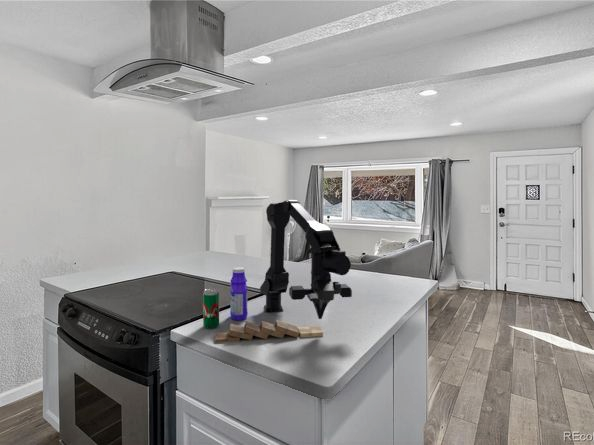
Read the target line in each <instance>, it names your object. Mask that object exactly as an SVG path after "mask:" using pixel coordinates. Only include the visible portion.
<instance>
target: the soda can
mask: <svg viewBox="0 0 594 445" xmlns="http://www.w3.org/2000/svg"><path fill="white" fill-rule="evenodd" d="M202 317H203V318H202V319H203V320H202V325H203V327H204V329H209V330H212V329H216V328H218V327H219V326H220V292H219V290H218V289H217V288H205V289H204V291H203V293H202Z"/></svg>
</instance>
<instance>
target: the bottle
mask: <svg viewBox="0 0 594 445" xmlns="http://www.w3.org/2000/svg"><path fill="white" fill-rule="evenodd" d="M245 271H246V270H245V268H244V267H242V266H240V267H239V266H238V267H233V268H232V277H231V279H230V288H229V291H230V296H229V298H230V299H229V300H230V311H229V312H230V317H231V319H232V320H235V321H240V320H245V319H247V318H248V286H247V282H248V280H247V278H246V274H245Z"/></svg>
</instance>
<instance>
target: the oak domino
mask: <svg viewBox="0 0 594 445" xmlns="http://www.w3.org/2000/svg"><path fill="white" fill-rule="evenodd" d="M297 328H298V331H299V335H298V336H299V337H300V338H311V337H323V336H324V331H323V330H322V329H321V328H320V326H302V327H301V326H300V327H297Z"/></svg>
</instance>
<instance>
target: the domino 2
mask: <svg viewBox="0 0 594 445" xmlns="http://www.w3.org/2000/svg"><path fill="white" fill-rule="evenodd" d="M228 332H229V333H228V335H230V336H234V337H239V338H240V339H243V340H248V341H252V340H253V336H254V335H251V334H248V333H245V332H244V326H241V325H237V324H234V323H230V324H229V329H228Z"/></svg>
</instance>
